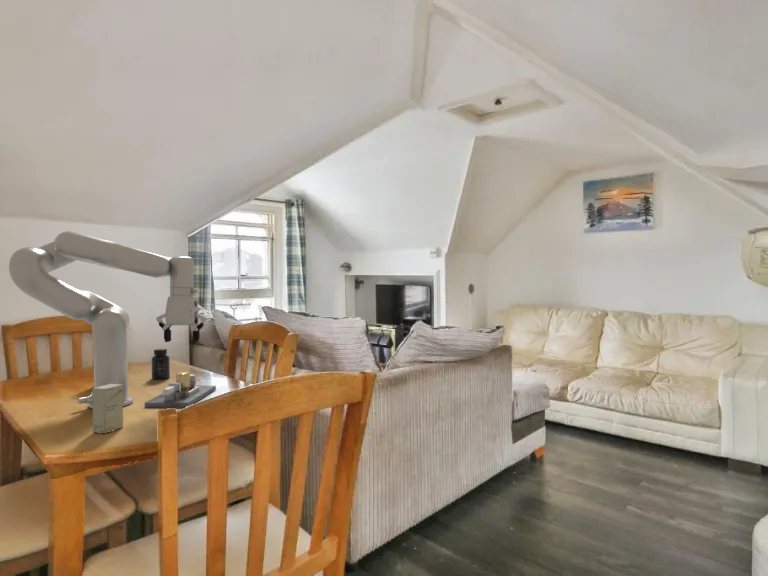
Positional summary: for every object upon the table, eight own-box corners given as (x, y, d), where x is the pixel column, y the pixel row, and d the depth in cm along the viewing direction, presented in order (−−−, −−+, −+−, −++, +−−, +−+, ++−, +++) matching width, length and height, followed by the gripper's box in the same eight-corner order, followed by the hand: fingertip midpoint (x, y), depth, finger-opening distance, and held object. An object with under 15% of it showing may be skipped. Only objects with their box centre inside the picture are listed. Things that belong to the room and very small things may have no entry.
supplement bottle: (173, 376, 198) (172, 348, 198) (164, 380, 191) (163, 350, 191) (157, 376, 199) (157, 348, 199) (148, 379, 192) (147, 350, 192)
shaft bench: (187, 407, 152) (187, 387, 151) (144, 407, 152) (144, 387, 152) (215, 389, 176) (215, 372, 175) (178, 389, 176) (178, 372, 176)
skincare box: (105, 434, 126) (104, 389, 125) (91, 433, 127) (91, 388, 127) (124, 427, 132) (123, 384, 131) (111, 425, 133) (110, 383, 133)
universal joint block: (186, 395, 161) (186, 375, 161) (173, 395, 161) (173, 374, 161) (193, 391, 167) (193, 371, 167) (180, 391, 167) (180, 371, 167)
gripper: (210, 292, 166) (210, 340, 167) (162, 291, 167) (162, 340, 167) (202, 293, 159) (202, 343, 159) (151, 292, 159) (151, 343, 160)
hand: (181, 341), depth 163 cm, fingers open, 9 cm apart
